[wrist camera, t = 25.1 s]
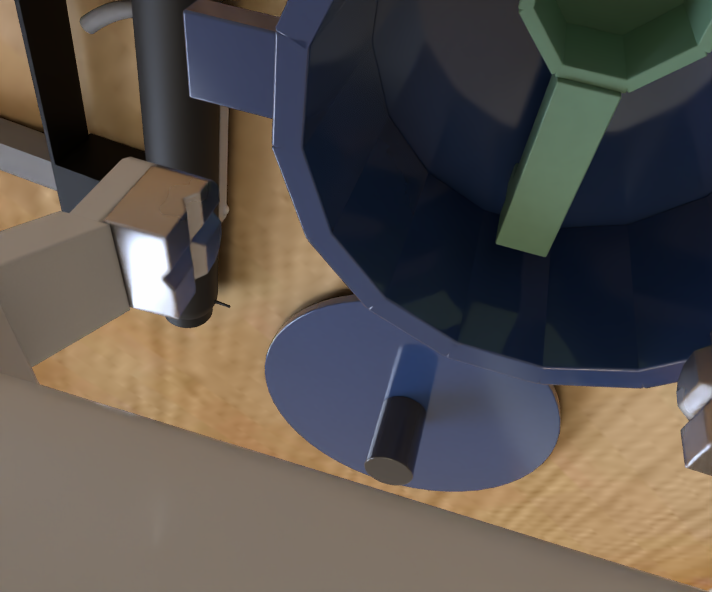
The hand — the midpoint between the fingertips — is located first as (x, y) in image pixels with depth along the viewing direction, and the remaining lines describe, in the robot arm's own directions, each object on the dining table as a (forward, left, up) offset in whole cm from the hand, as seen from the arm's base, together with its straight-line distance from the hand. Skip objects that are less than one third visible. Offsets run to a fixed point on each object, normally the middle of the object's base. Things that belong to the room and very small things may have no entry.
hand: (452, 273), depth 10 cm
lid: (+22, +1, -13) cm, 26 cm away
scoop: (+1, +3, -13) cm, 14 cm away
